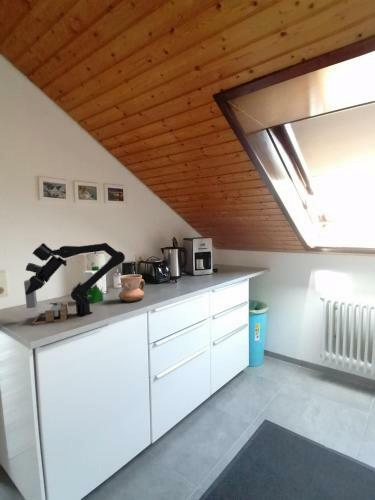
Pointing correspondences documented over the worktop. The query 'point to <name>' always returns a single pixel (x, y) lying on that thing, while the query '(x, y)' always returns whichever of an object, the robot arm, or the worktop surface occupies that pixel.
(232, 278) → the worktop surface
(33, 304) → the basalt block
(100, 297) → the milk carton
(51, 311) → the frame
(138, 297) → the ceramic jug
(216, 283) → the worktop surface
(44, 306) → the trapdoor
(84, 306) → the robot arm
